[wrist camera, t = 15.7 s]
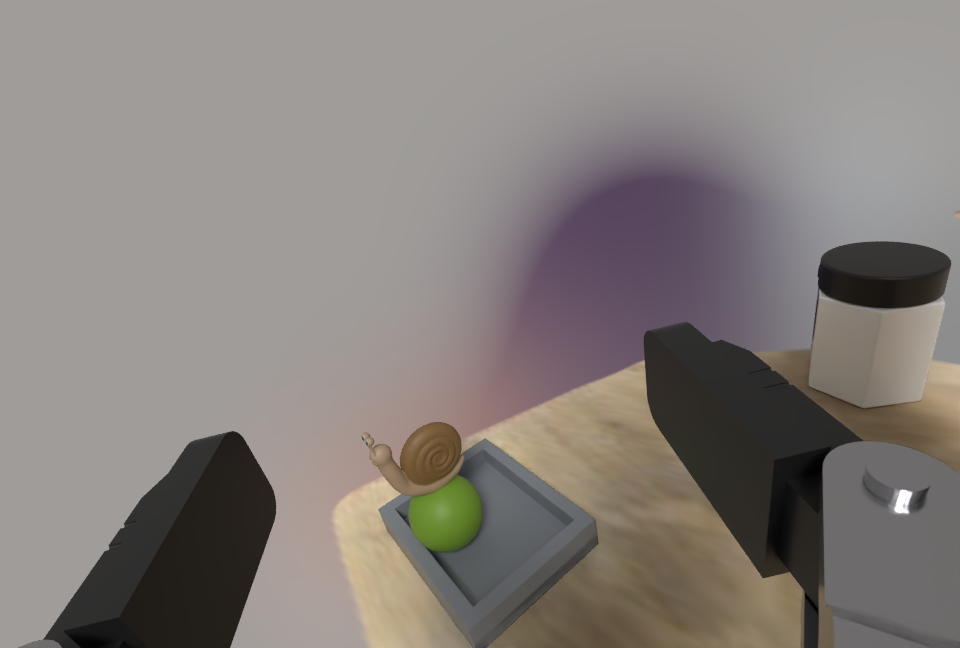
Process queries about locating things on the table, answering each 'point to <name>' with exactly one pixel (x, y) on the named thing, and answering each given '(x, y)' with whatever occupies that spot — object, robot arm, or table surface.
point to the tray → (498, 545)
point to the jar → (877, 321)
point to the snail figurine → (433, 486)
